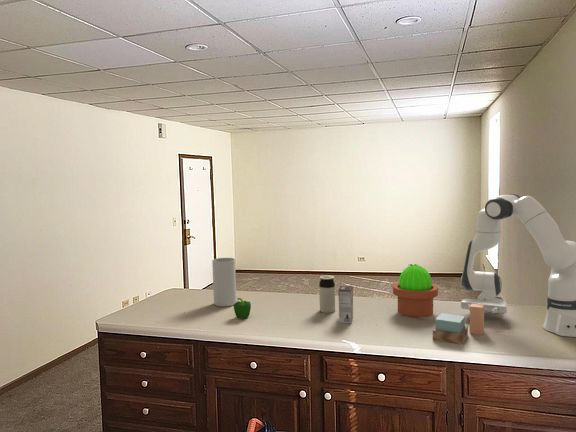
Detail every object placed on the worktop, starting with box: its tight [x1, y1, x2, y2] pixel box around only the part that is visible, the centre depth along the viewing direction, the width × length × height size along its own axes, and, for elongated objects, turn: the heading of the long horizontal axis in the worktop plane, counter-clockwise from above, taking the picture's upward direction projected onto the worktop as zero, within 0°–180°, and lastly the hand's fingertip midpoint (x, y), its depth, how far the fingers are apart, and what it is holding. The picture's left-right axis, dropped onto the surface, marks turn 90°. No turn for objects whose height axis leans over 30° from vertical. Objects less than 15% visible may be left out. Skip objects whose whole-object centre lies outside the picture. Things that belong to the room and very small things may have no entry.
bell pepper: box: [233, 297, 252, 320], centre depth 237 cm, size 8×8×10 cm
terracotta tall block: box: [469, 304, 485, 336], centre depth 207 cm, size 5×5×12 cm
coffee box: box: [337, 285, 354, 324], centre depth 228 cm, size 9×6×16 cm
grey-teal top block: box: [434, 312, 466, 333], centre depth 202 cm, size 10×10×4 cm
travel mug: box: [318, 275, 336, 314], centre depth 244 cm, size 8×8×18 cm
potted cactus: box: [392, 263, 439, 318], centre depth 237 cm, size 22×22×25 cm
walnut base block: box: [432, 325, 469, 345], centre depth 202 cm, size 12×12×4 cm
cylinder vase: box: [211, 257, 237, 308], centre depth 262 cm, size 12×12×25 cm
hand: (481, 310), depth 217 cm, fingers open, 8 cm apart
